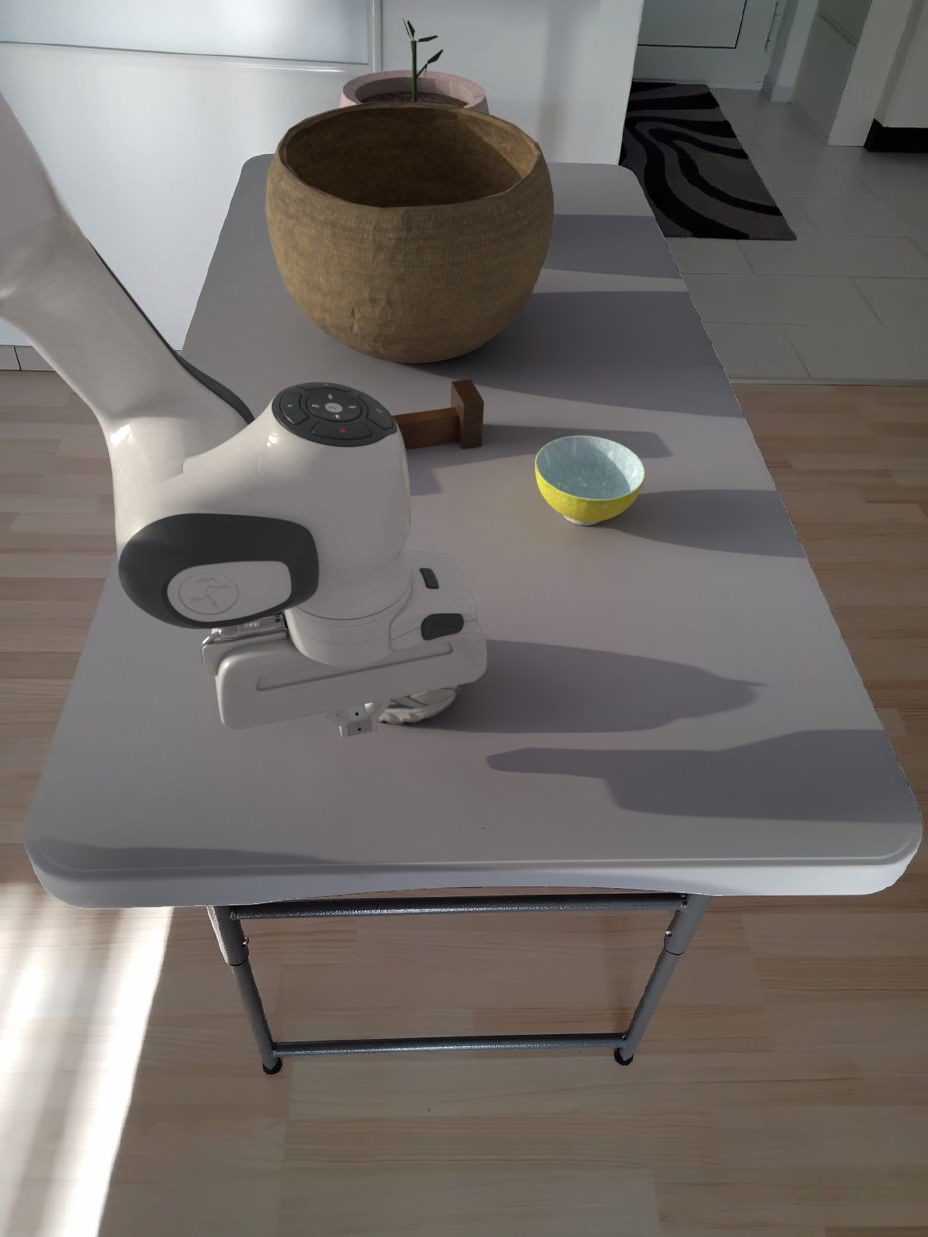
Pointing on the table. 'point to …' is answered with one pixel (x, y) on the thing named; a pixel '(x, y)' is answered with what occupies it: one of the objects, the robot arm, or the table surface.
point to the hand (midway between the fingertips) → (357, 728)
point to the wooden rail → (447, 420)
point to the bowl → (588, 478)
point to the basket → (409, 225)
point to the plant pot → (415, 85)
